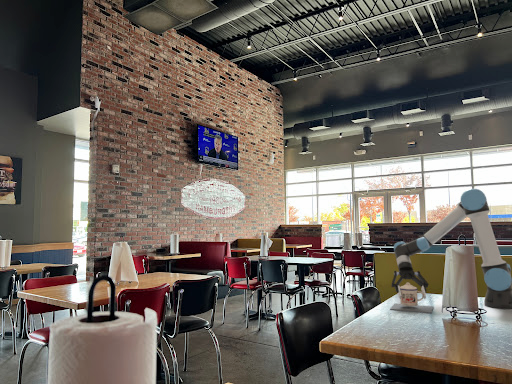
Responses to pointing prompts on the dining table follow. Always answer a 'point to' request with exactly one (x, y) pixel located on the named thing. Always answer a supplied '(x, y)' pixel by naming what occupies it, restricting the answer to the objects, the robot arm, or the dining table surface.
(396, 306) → the mat
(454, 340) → the dining table surface
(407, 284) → the teacup with lid
